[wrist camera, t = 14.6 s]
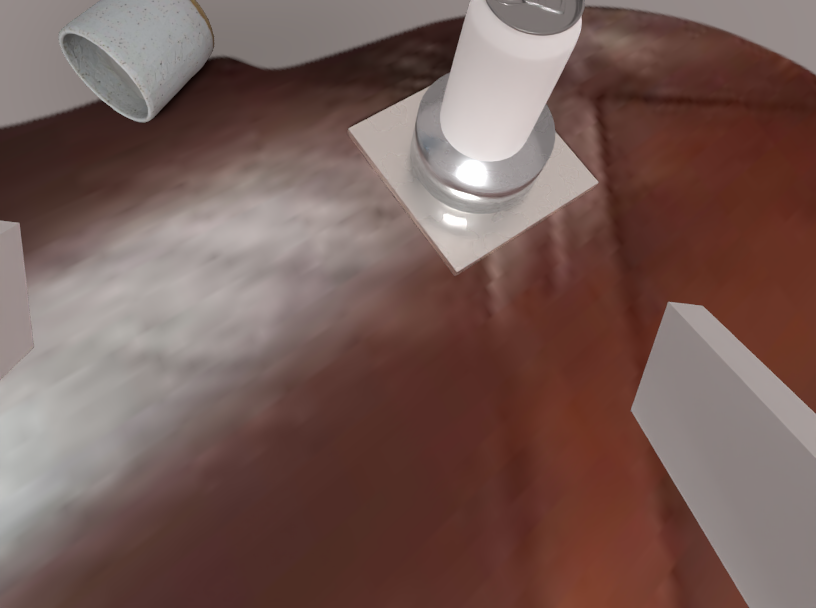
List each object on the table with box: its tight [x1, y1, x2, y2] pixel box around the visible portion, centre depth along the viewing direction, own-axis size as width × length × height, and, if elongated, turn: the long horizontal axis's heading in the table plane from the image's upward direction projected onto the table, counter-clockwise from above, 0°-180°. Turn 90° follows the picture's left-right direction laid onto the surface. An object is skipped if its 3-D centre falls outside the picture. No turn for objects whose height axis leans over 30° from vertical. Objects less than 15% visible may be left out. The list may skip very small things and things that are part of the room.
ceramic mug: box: [59, 0, 214, 122], centre depth 46 cm, size 11×8×8 cm
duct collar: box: [348, 73, 599, 276], centre depth 48 cm, size 14×14×5 cm
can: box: [440, 0, 585, 162], centre depth 40 cm, size 6×6×12 cm
